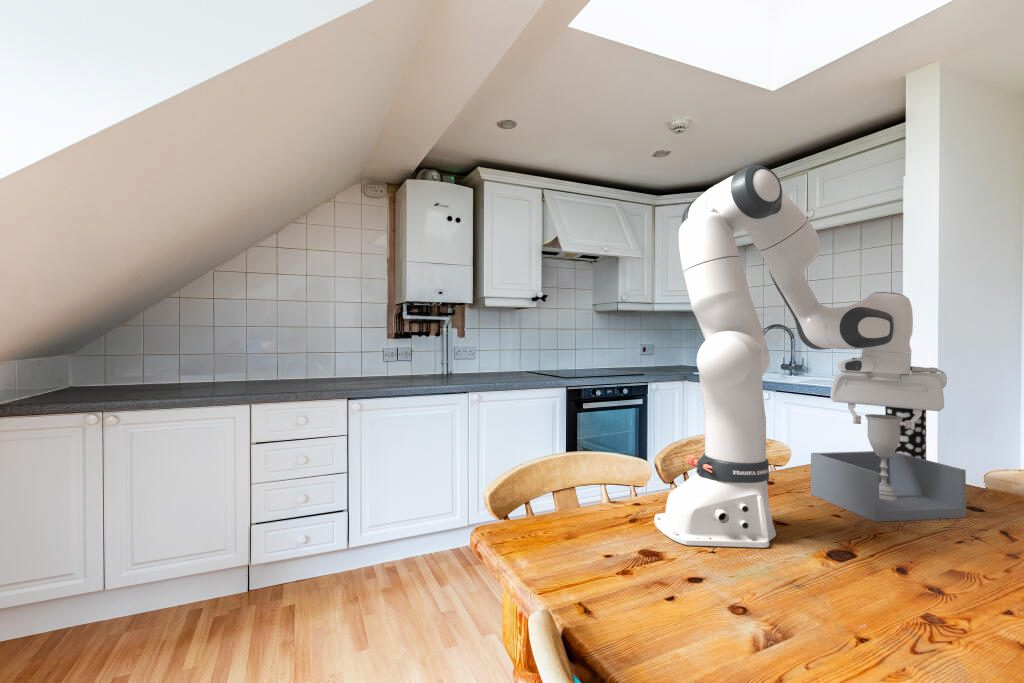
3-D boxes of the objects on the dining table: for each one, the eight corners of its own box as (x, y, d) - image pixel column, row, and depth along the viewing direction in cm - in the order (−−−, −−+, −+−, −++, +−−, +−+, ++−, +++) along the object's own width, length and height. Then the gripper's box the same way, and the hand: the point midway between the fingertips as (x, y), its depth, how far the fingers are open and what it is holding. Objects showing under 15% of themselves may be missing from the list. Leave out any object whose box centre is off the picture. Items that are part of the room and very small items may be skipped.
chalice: (909, 503, 105) (909, 419, 105) (872, 500, 107) (872, 418, 107) (894, 493, 112) (894, 415, 112) (859, 490, 114) (859, 413, 114)
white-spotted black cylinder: (935, 487, 122) (935, 408, 122) (901, 487, 122) (901, 408, 122) (908, 478, 131) (908, 404, 131) (877, 478, 131) (877, 404, 131)
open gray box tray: (874, 521, 99) (874, 473, 99) (810, 494, 117) (810, 453, 117) (965, 517, 101) (965, 469, 101) (889, 491, 119) (889, 450, 119)
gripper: (945, 367, 105) (942, 430, 105) (832, 361, 117) (830, 418, 117) (949, 368, 100) (946, 435, 100) (831, 362, 112) (828, 422, 112)
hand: (882, 426), depth 109 cm, fingers open, 8 cm apart
